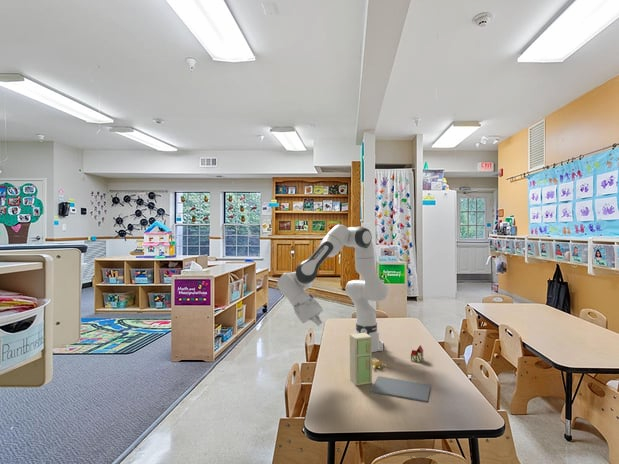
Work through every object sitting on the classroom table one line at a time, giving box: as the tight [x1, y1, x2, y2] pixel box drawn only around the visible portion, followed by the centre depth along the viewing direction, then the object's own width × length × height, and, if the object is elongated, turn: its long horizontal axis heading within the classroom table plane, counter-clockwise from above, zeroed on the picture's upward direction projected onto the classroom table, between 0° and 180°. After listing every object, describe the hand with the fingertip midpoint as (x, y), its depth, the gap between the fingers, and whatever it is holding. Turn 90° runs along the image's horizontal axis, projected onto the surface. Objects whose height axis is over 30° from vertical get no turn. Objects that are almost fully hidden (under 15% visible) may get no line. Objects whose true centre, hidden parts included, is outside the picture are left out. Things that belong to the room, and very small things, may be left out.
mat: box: [369, 375, 432, 403], centre depth 151 cm, size 16×23×1 cm
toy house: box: [410, 344, 425, 364], centre depth 185 cm, size 6×7×8 cm
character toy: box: [372, 358, 388, 369], centre depth 175 cm, size 8×3×8 cm
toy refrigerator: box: [349, 333, 373, 386], centre depth 158 cm, size 8×7×21 cm
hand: (320, 324), depth 166 cm, fingers closed
